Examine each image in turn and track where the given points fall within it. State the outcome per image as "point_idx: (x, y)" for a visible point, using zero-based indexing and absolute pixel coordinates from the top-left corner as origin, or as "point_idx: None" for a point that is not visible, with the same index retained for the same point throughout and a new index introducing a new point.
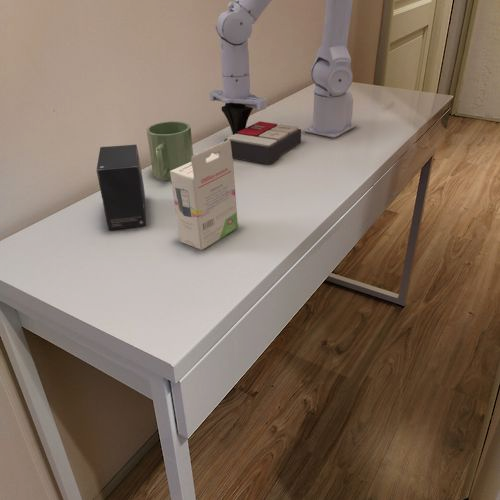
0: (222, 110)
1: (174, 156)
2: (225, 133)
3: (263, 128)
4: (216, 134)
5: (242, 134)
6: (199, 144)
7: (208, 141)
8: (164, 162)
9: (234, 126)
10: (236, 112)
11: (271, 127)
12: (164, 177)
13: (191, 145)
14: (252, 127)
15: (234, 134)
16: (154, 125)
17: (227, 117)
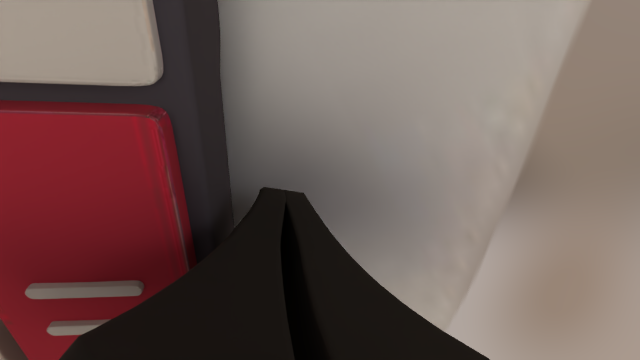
0: (472, 358)
1: None
2: (427, 279)
3: (36, 309)
4: (470, 252)
5: (82, 106)
6: (528, 71)
7: (482, 145)
8: None
9: (275, 231)
10: (93, 354)
11: (24, 352)
12: None
13: None
14: (121, 285)
15: (139, 40)
16: None
17: (370, 291)
